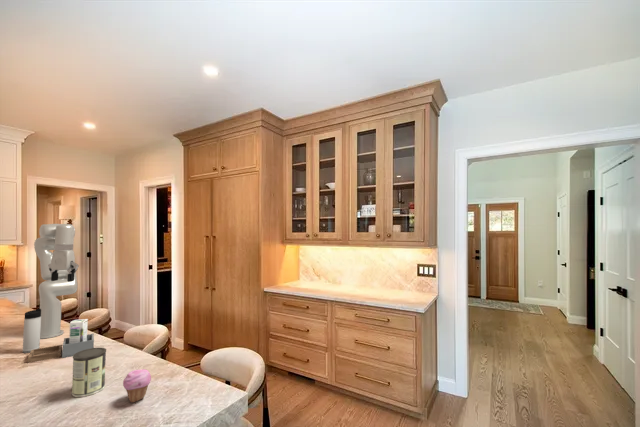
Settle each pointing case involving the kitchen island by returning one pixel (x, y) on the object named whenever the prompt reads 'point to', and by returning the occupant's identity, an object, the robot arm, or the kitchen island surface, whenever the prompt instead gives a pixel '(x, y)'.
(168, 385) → the kitchen island surface
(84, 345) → the bin
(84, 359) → the coffee can
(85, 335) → the syrup box
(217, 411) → the kitchen island surface
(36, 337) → the travel mug
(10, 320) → the kitchen island surface
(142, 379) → the cupcake
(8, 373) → the kitchen island surface
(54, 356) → the socket collar
